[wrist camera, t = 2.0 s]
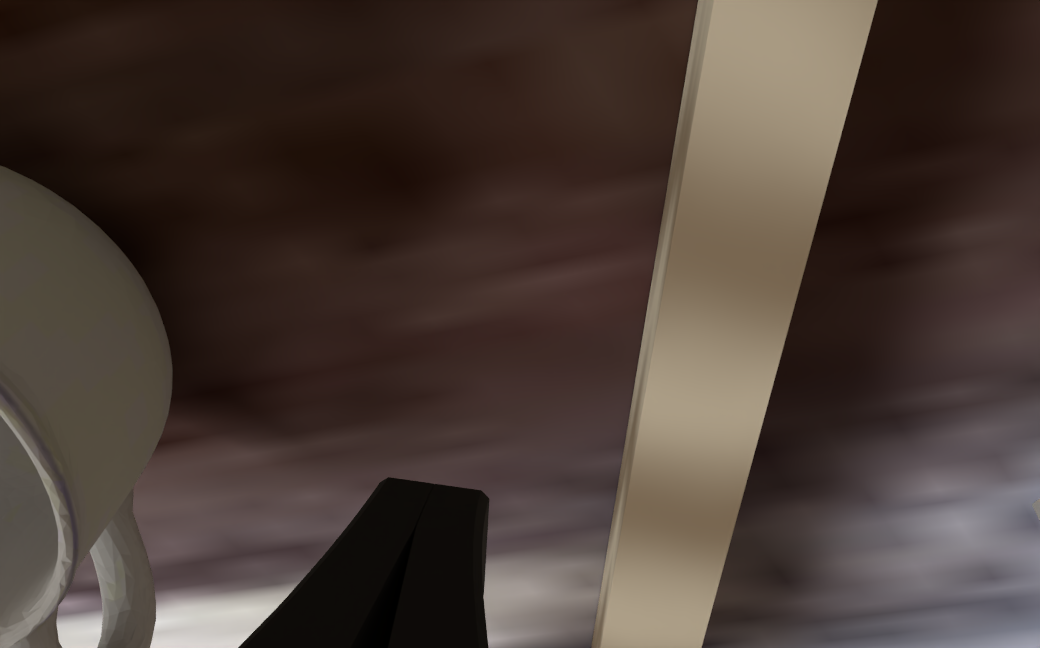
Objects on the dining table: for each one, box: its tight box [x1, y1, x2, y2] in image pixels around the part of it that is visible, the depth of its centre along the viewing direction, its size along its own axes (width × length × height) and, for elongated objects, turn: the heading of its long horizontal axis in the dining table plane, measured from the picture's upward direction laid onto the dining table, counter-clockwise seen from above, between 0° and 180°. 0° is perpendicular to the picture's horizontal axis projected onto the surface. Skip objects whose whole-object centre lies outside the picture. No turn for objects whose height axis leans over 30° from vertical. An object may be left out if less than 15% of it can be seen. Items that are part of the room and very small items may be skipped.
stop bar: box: [591, 0, 878, 648], centre depth 22 cm, size 26×2×4 cm, turn 177°
